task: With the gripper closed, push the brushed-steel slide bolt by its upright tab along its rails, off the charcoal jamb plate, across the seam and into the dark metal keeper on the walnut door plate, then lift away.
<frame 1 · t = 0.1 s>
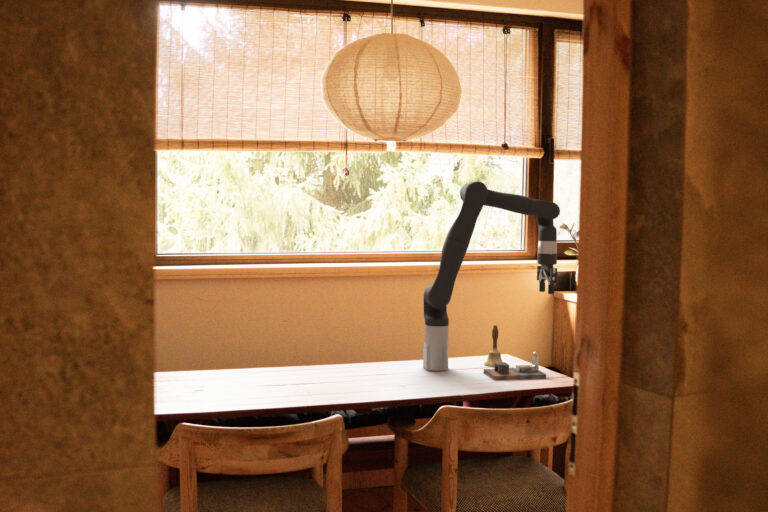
hand: (546, 292, 281), 29 cm above the table, fingers open, 8 cm apart
hand bell: (494, 365, 283), on the table
bolt: (527, 361, 264), point 5 cm above the table, slide at 0.0 cm
lock plate: (514, 375, 263), on the table
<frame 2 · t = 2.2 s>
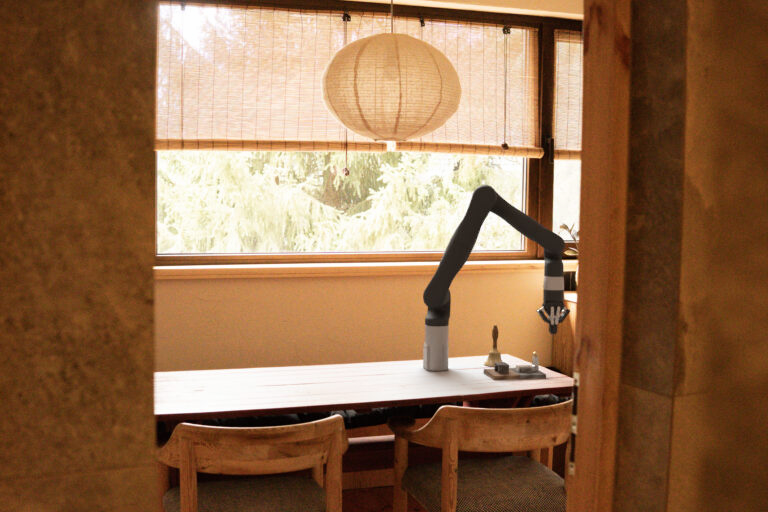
hand: (553, 334, 265), 15 cm above the table, fingers closed
nothing on the table moved.
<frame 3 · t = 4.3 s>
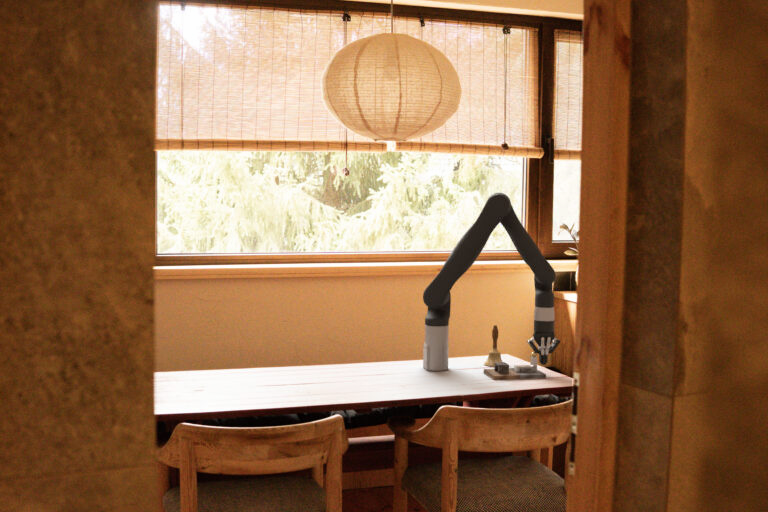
hand: (543, 364, 265), 4 cm above the table, fingers closed
bolt: (526, 361, 264), point 5 cm above the table, slide at 0.6 cm, touching gripper
everything else where it was.
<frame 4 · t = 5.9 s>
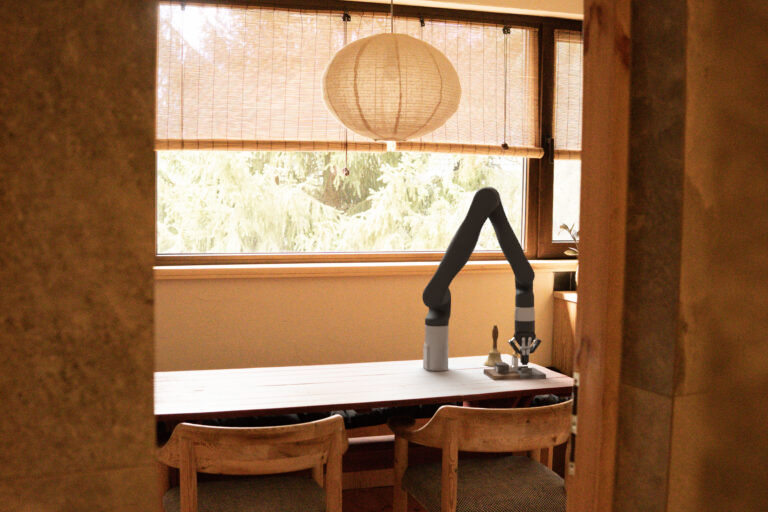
hand: (524, 364, 264), 4 cm above the table, fingers closed
bolt: (507, 361, 263), point 5 cm above the table, slide at 8.0 cm, touching gripper
everything else where it was.
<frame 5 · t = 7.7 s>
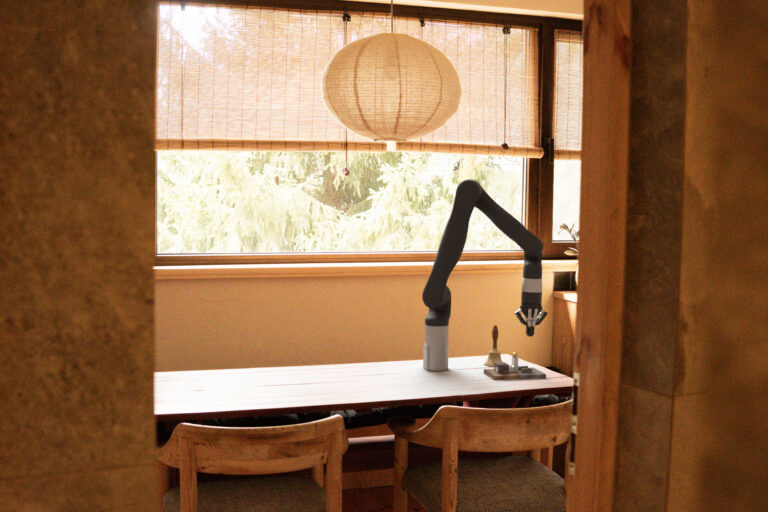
hand: (529, 336, 264), 15 cm above the table, fingers closed
bolt: (507, 361, 263), point 5 cm above the table, slide at 8.0 cm
everything else where it was.
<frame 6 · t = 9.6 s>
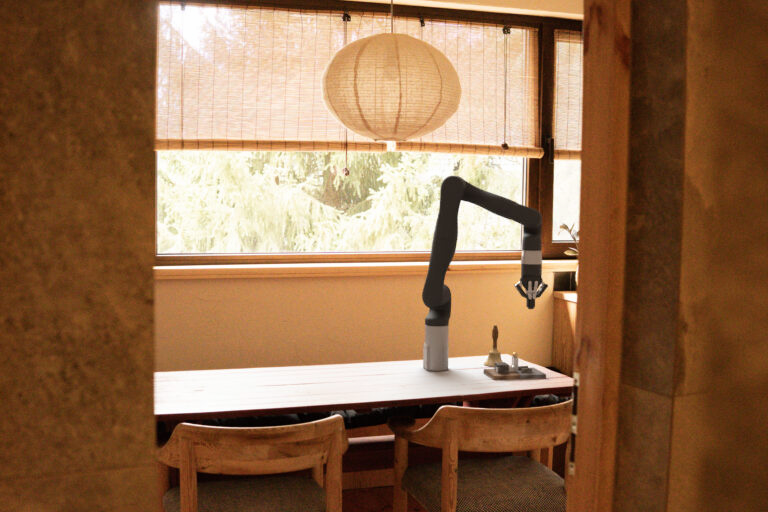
hand: (530, 308, 263), 25 cm above the table, fingers closed
nothing on the table moved.
at the end: bolt slide at 8.0 cm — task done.
